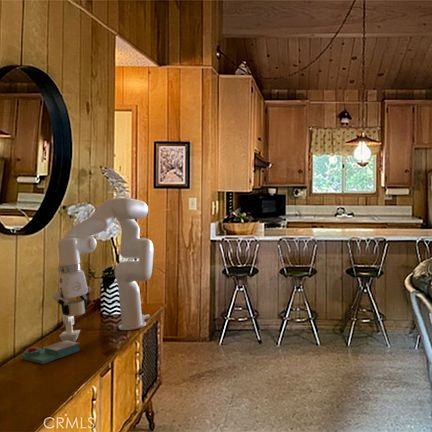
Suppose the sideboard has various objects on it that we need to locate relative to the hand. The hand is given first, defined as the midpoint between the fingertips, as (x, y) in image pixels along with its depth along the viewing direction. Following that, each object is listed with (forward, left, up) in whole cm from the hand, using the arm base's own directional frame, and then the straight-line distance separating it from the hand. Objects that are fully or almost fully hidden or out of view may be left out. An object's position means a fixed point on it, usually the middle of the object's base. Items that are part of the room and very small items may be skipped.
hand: (75, 311), depth 198 cm
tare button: (+10, -15, -15) cm, 24 cm away
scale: (+5, -11, -18) cm, 21 cm away
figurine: (-10, -21, -18) cm, 29 cm away
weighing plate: (+2, -8, -18) cm, 20 cm away
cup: (0, 0, -1) cm, 1 cm away
